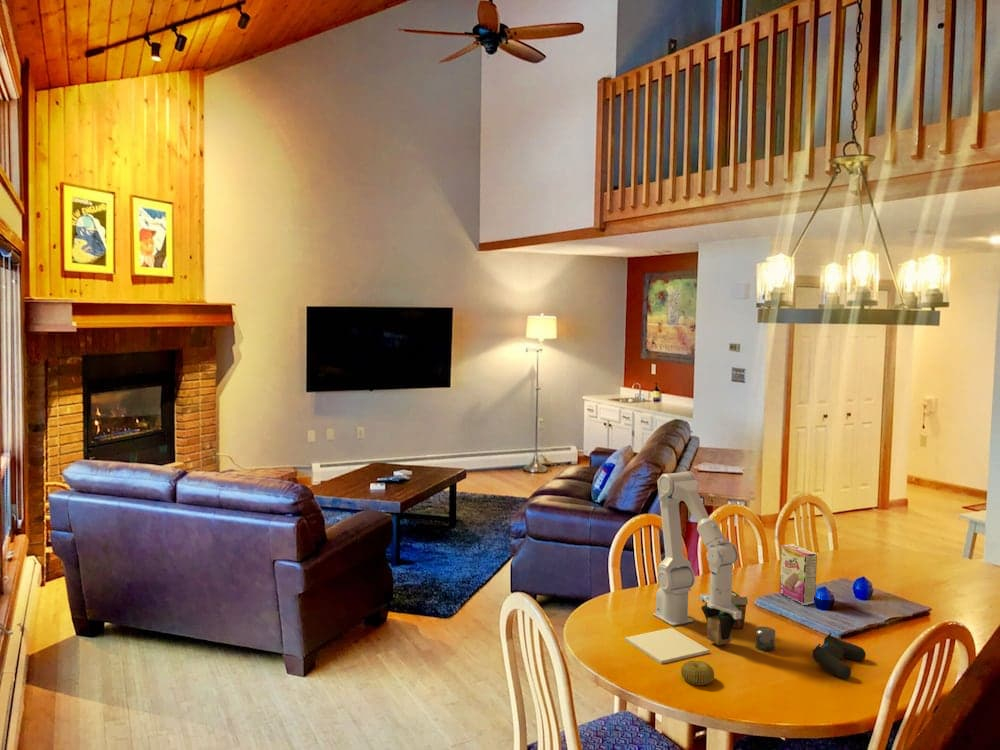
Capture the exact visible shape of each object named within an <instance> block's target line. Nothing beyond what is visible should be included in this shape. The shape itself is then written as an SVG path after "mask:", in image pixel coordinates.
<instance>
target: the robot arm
mask: <svg viewBox="0 0 1000 750" xmlns="http://www.w3.org/2000/svg"><path fill="white" fill-rule="evenodd" d="M656 483H657V490H658V491H657V493H658V501H659V506H660V507H659V508H660V515H661V517H660V518H661V526H662V534H663V535H662V537H663V545H664V547H663V548H664V555H665V557H664V559H663V560H662V561H661V562H660V563H659V564H658V566H657V567H658V574H657V583H658V586H659V588H658V589H657V590H656V595H655V612H653V616H655V617H656V618H658V619H659V620H662V621H663V622H666V624H668V625H670V626H672V627H675V626H678V625H679V626H680V625H684V624H689V623H692V622H693V623H694V621H695V620H694V619H693V618H692V617H689V616H688V615H689V614H688V613H689V612H688V610H689V607H688V606H689V592H690V591H691V588H692V587H694V585H695V583H696V582H695V581H696V577H695V573H694V570H693V568H692V562H691V561H689V559H687V558H686V557H685V554H684V546H683V543H684V542H683V536H682V535H683V533H682V527H681V526H682V523H681V514H680V505H679V503H680V502H684V503H685V505H686V507H687V508H688V510H689V511H690V513H691V514H692V516H693V517H694V520H695V521H696V522H697V526H696V531H697V533H698V534H699V537H700V538H701V540H702V543H703V544H704V546H705V548H706V550H707V552H706V554H705V555H706V559H707V562H708V569H709V571H710V579H709V580H710V583H709V594H707V593H701V594H699V601H700V603H705V604H704V605H702V606H701V611H702V612H703V614H704V616H705V617H704V618H705V621H706V623H707V622H708V617H713V616H717V615H718V618H719V620H720V625H721V637H722V639H723V640H725V639H729V637H730V634H731V635H732V632H733V631H732V630H733V629H732V628H733V626H734V624H735V622H736V621H737V619H741V616H742V612H741V611H740V610H738V609H737V608H736V607H735V606H734V605H733V604H732V603H731V592H732V591H733V590H732V589H733V567H734V566H733V565H734V564H735V563H737V561H738V557H739V555H738V549H737V548H736V546H735V544H734V543H733V542H730V540H729V539H726V538H725V536H724V534H723V532H722V530H721V528H720V527H719V525H718V523H717V521H716V520H715V519H712V518H710V516H709V514H708V512H707V510H706V508H705V506H704V503H703V501H702V498H701V497H700V493H699V491H698V489H699V482H698V480H697V479H696V476H695V474H694V473H693V472H692V471H689V470H688V471H687V470H686V471H683V472H682V471H681V472H673V473H662V474H661V475H660V476H659V478H658V479H657V481H656ZM720 610H721V611H723V612H724V614H720V615H719V613H720Z"/></svg>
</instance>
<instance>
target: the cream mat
mask: <svg viewBox="0 0 1000 750" xmlns="http://www.w3.org/2000/svg"><path fill="white" fill-rule="evenodd" d="M624 641H625V642H627V643H628V644H630V645H631V646H632V647H635V648H636V649H637V650H639V651H640V652H642V653H644V654H645V655H647V656H648V657H650V658H651V659H653V660H654V661H655V662H657V663H659V664H660V665H663V664H666V663H671V662H672V663H673V662H675V661H680V660H684V659H689V658H692V657H696V656H701V655H705V654H710V649H709V648H707V647H705V646H703V645H701V643H698V642H697V641H695V640H693V639H691V638H689V637H688V636H686V635H685V634H682V633H681V632H679V631H678V630H677V629H674V628H673V627H669V628H664V629H663V628H662V629H660V630H655V631H650V632H644V633H641V634H635V635H630V636H626V637H624Z"/></svg>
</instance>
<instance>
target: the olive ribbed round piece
mask: <svg viewBox="0 0 1000 750" xmlns="http://www.w3.org/2000/svg"><path fill="white" fill-rule="evenodd" d="M680 669H681V670H680V674H681V676H682V678H683V679H684V680H685V681H686V682H687V683H689V684H692V685H695V686H705V685H708V684H710V683H711V682H712V681H713V680H714V678H715V671H714V669H713V667H712V666H711V665H710V664H709V663H707V662H704V661H701V660H689V661H686V662H685V663H684V664H682V666H681V668H680Z"/></svg>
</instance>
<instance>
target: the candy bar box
mask: <svg viewBox="0 0 1000 750" xmlns="http://www.w3.org/2000/svg"><path fill="white" fill-rule="evenodd" d="M817 561H818V553H816V552H813V551H811V550H808V549H806V548H804V547H801V546H799V545H796V544H795V543H789V544H782V545H781V547H780V569H779V570H780V574H779V594H780V595H781V594H783V595H786V596H788V597H790V598H793V599H795V600H798V601H800V602H803V603H806V602H811V601H813V599H814V595H815V596H816V588H817V587H816V585H817V565H818V564H817V563H818V562H817ZM783 595H782V596H783Z"/></svg>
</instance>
